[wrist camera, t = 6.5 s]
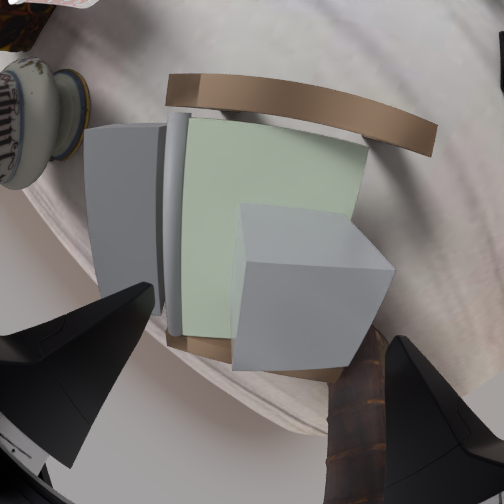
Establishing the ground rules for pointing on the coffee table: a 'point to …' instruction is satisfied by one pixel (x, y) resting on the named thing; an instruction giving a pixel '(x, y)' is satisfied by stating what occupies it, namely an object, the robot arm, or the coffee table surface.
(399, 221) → the coffee table surface
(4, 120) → the apothecary jar
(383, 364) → the book
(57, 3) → the beverage cup
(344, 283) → the slate grey block
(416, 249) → the coffee table surface
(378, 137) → the walnut frame
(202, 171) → the trapdoor
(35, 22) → the candle
